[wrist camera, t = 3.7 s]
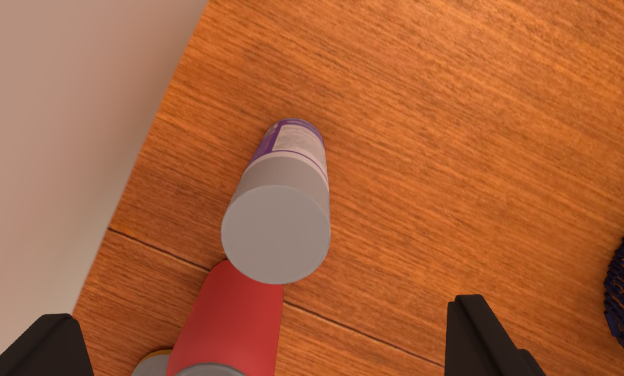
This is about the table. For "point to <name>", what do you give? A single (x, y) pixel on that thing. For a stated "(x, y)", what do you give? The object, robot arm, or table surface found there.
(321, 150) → the container
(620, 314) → the decorative bowl
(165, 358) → the bottle
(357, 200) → the table surface
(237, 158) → the table surface
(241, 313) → the beer can
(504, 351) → the robot arm
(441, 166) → the table surface
